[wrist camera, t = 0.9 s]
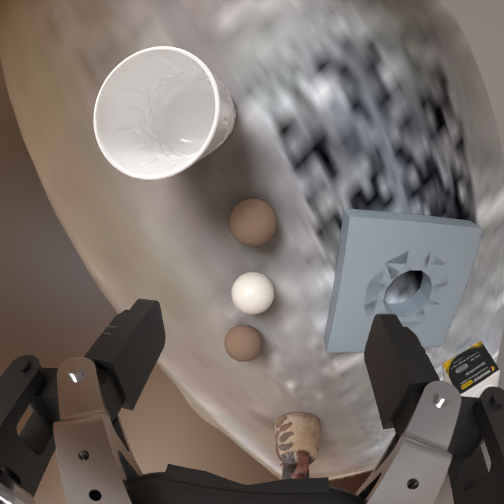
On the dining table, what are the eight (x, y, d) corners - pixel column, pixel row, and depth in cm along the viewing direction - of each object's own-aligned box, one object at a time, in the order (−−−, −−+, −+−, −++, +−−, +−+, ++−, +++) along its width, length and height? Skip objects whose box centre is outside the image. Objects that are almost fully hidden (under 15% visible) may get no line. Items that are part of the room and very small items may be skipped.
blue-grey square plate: (343, 208, 25) (349, 216, 23) (469, 220, 24) (482, 229, 21) (324, 337, 31) (326, 352, 29) (434, 333, 30) (441, 345, 28)
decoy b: (226, 316, 31) (220, 340, 27) (263, 318, 31) (261, 343, 27) (228, 343, 32) (222, 367, 29) (262, 345, 32) (260, 370, 29)
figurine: (268, 428, 40) (263, 491, 29) (284, 408, 37) (282, 479, 26) (307, 435, 41) (308, 495, 30) (327, 415, 38) (332, 481, 27)
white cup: (262, 120, 22) (251, 114, 13) (193, 177, 25) (147, 207, 16) (204, 57, 20) (160, 22, 11) (141, 116, 23) (73, 118, 14)
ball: (234, 263, 28) (227, 284, 24) (275, 265, 28) (274, 287, 24) (235, 298, 30) (229, 321, 26) (273, 300, 29) (272, 323, 26)
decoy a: (232, 193, 25) (224, 204, 22) (277, 194, 25) (277, 206, 21) (233, 235, 27) (226, 252, 23) (276, 236, 27) (276, 254, 23)
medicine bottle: (480, 338, 30) (515, 395, 19) (479, 364, 32) (507, 417, 21) (441, 362, 32) (470, 425, 21) (444, 385, 34) (467, 442, 23)
